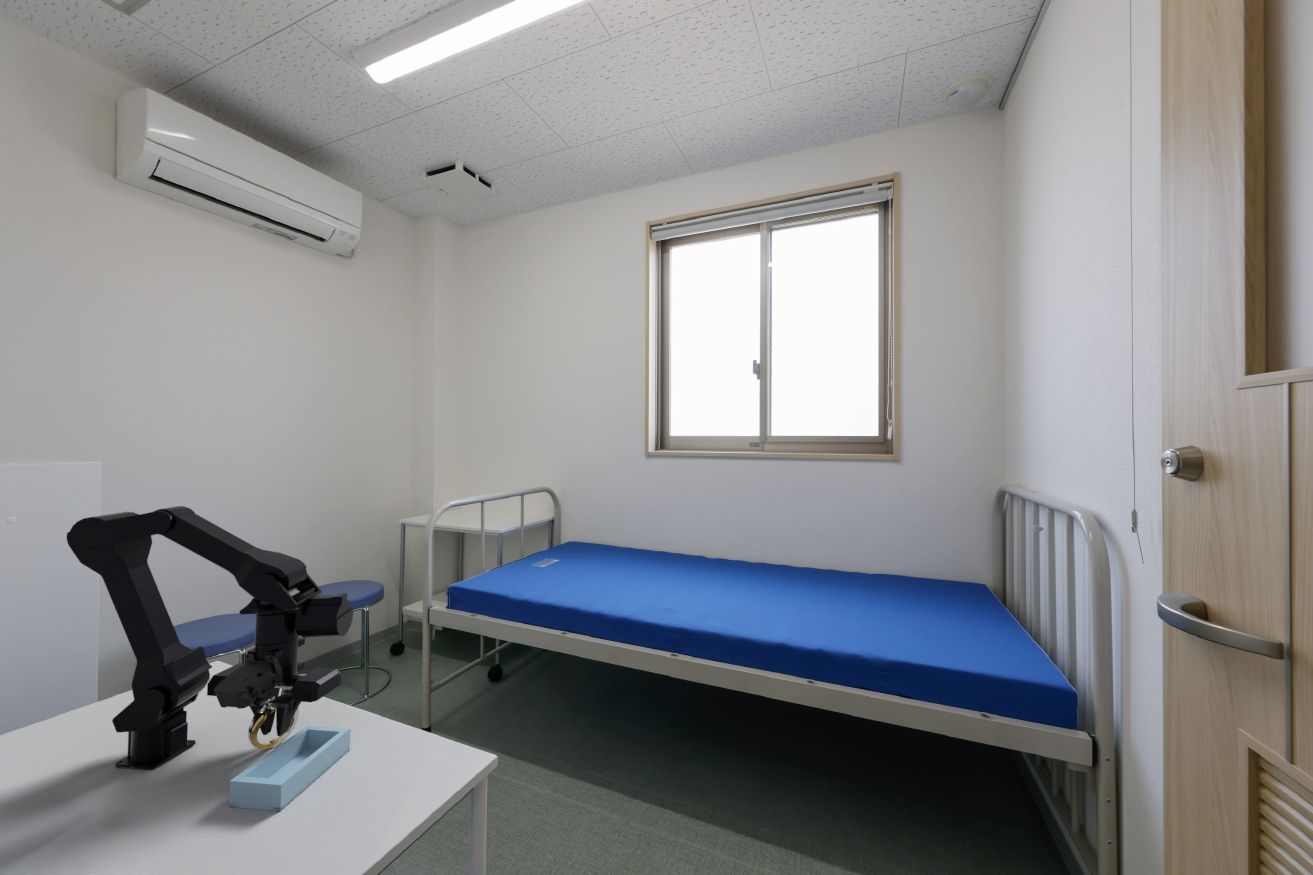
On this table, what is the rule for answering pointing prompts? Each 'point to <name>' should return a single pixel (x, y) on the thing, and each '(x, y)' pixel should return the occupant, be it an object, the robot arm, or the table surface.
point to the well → (289, 768)
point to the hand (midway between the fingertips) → (274, 734)
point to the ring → (258, 721)
